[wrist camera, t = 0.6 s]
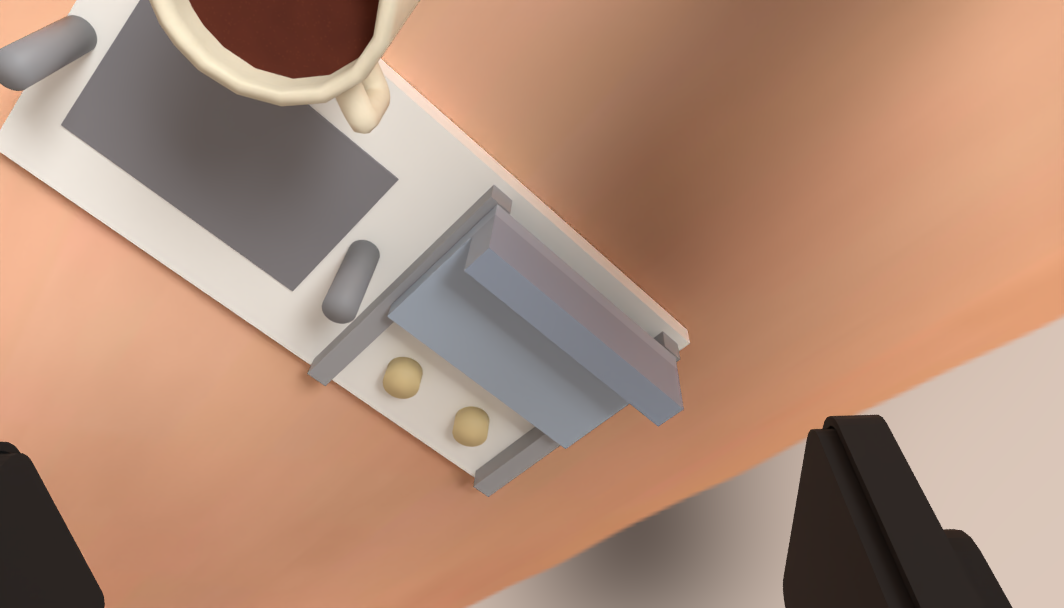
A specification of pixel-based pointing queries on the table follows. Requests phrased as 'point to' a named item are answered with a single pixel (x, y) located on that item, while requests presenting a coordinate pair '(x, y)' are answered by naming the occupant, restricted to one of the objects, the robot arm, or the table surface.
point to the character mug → (292, 49)
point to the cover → (537, 333)
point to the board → (291, 214)
